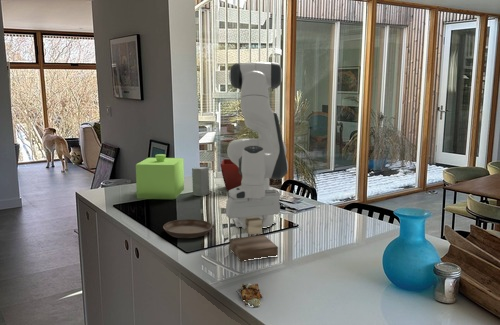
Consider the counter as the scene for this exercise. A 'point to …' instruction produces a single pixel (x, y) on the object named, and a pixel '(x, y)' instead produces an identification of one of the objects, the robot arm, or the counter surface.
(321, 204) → the counter surface
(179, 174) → the canister
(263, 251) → the walnut base
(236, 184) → the plant pot
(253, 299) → the pastry
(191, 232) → the plant saucer
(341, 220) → the counter surface
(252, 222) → the maple cube
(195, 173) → the skincare box
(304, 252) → the counter surface
